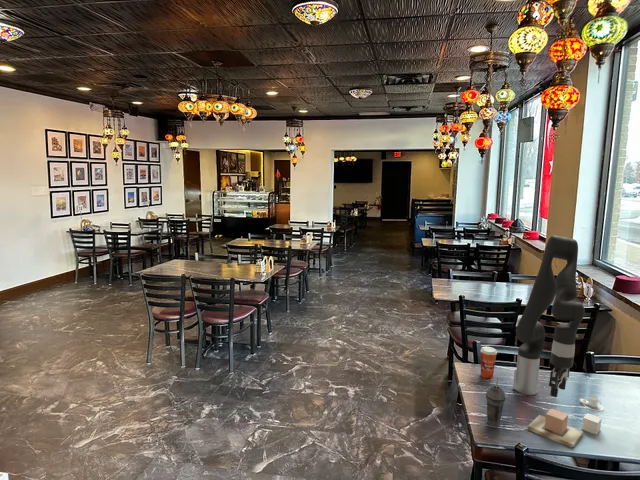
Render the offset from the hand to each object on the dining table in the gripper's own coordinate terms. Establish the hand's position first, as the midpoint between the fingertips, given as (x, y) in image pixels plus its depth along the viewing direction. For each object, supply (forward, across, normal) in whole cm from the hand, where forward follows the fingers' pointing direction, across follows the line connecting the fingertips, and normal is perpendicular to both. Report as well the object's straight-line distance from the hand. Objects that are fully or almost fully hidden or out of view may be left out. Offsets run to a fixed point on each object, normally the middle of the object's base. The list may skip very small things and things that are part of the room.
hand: (557, 392), depth 164 cm
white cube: (+16, -13, +10) cm, 23 cm away
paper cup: (+18, -27, -40) cm, 51 cm away
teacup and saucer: (+17, -37, +3) cm, 41 cm away
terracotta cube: (+15, 0, +1) cm, 15 cm away
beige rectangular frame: (+16, 0, +1) cm, 17 cm away
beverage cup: (+17, +12, -18) cm, 28 cm away
